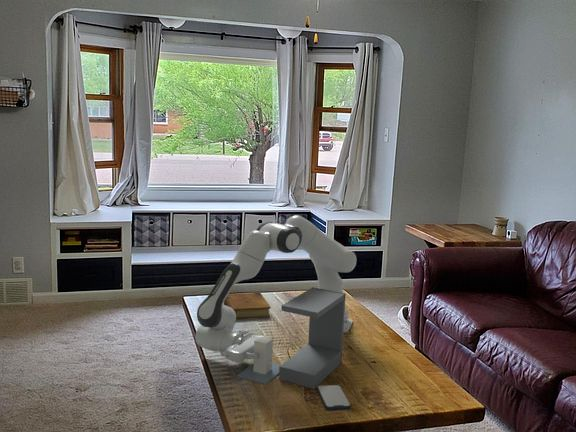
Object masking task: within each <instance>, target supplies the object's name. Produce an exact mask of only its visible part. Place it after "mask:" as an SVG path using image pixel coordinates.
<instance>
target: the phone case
mask: <svg viewBox="0 0 576 432" xmlns="http://www.w3.org/2000/svg"><path fill="white" fill-rule="evenodd" d="M316 391H317V393H318V395H319V398H320V400H321V402H322V405H323V406H324V409H325V411H328V412H331V411H332V412H333V411H334V412H335V411H348V410H351V408H352V405H351V402H350V401H349V399H348V398H347V395H346V394H345V391H344V390H343V388H342V387H341V385H339V384H331V385H329V384H328V385H327V384H326V385H317V386H316Z"/></svg>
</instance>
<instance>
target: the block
mask: <svg viewBox="0 0 576 432" xmlns="http://www.w3.org/2000/svg"><path fill="white" fill-rule="evenodd" d="M273 342H274V340H273V338H269V337H267V336H265V337H262V336H261V337H259V338H258V339H256V340H255V341H254V353H258V354H260V356H259V358H258V359H257V360H256V359H253V363H254V367H253V371H254V372H257V373H261V374H267V373H268V372H269V371H271V370H272V363H273V346H274V345H273V344H274V343H273Z"/></svg>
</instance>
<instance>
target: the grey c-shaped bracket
mask: <svg viewBox="0 0 576 432" xmlns="http://www.w3.org/2000/svg"><path fill="white" fill-rule="evenodd" d="M345 308H346V293H345V292H343V293H340V292H335V291H329V290H324V289H318V287H311V288H309V289H308V290H305V291H304V292H302V293H300V294H299V295H297V296H295V297H293V298H292V299H290V300H289V301H287V302H284V303H283V304H281V310H280V311H282V312H284V313H285V312H286V313H290V314H295V315H300V316H303V317H304V316H305V317H309V322H308V325H309V326H308V344H306V345H305V346H304V347H302V348H301V349H300V350H299V351H297V352H296V353H295V354H293V355H292V356H291V357H290V358H289V359H287V360H286V361H284V362H283V363H281V364H280V366H279V374H278V380H280V381H283V382H286V383H287V382H288V383H291V384H295V385H299V386H302V387H306V388H309V389H313V390H315V389H316V388H317V386H320V384H321V383H322V382H323V381H324V380H325V379H326V378H327V377H328V376H329V375H331V373H333V371H334V370H336V369H337V368H338V367H339V366H340V365H341V364H342V362H343V361H342V360H343V348H344V346H343V345H344V333H343V331H344V314H345Z"/></svg>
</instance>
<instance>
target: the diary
mask: <svg viewBox="0 0 576 432" xmlns="http://www.w3.org/2000/svg"><path fill="white" fill-rule="evenodd" d="M223 305H226V306H228V307H231V308H232V309H233V310H234V311H235V313H236V320H245V319H246V320H247V319H248V318H249V319H263V318H264V319H265V318H271V315H270V310H271V308H272V307H271V305H270V304H269V303H268V301H267V300H266V298H265V297H264V296H263V294H262V293H261V292H241V293H240V292H239V293H229V294H228V296H227V297H226V299H225V301H224V303H223ZM249 319H248V320H249Z"/></svg>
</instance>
